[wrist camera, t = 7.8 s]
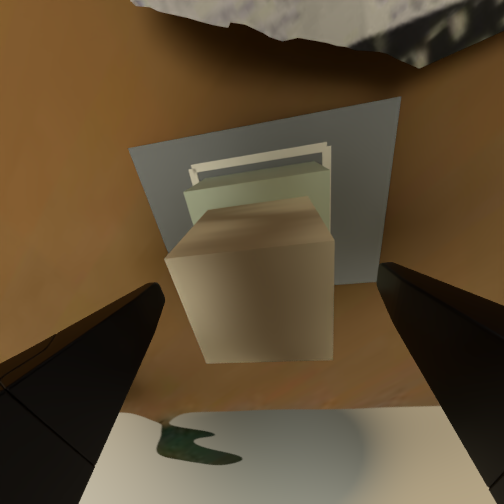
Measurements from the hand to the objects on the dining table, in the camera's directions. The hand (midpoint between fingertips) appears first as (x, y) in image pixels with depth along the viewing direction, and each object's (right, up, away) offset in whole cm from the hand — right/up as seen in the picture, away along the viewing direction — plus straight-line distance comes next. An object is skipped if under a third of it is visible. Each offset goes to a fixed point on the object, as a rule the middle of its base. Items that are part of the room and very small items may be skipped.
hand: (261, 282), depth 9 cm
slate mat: (+1, +4, +7) cm, 8 cm away
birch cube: (0, +1, +3) cm, 3 cm away
